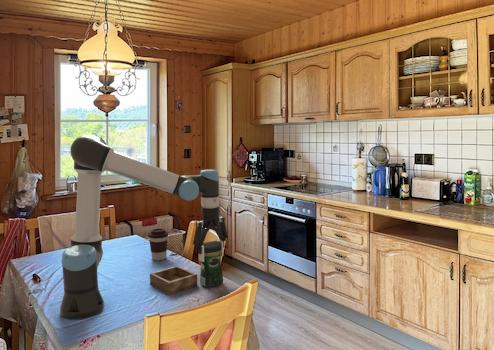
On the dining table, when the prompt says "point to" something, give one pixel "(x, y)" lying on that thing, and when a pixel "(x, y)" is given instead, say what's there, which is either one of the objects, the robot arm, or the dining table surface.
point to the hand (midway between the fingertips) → (211, 258)
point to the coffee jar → (211, 265)
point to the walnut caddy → (173, 280)
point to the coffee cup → (158, 243)
